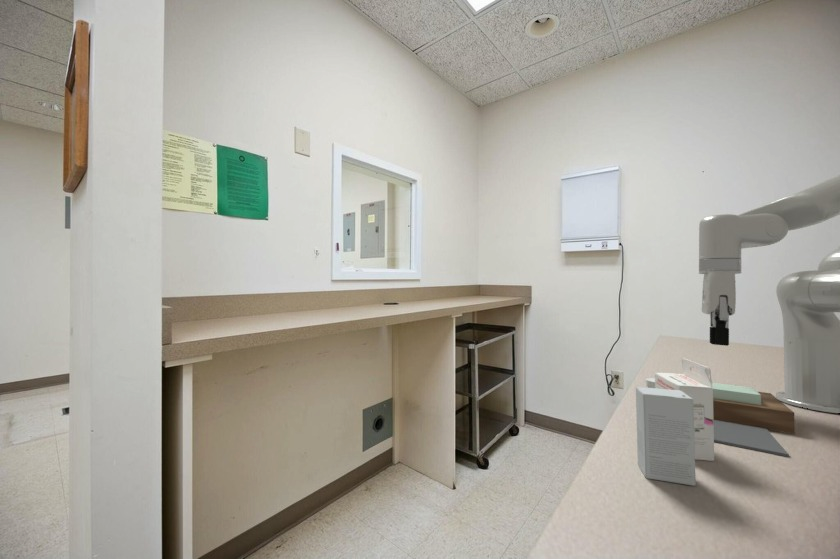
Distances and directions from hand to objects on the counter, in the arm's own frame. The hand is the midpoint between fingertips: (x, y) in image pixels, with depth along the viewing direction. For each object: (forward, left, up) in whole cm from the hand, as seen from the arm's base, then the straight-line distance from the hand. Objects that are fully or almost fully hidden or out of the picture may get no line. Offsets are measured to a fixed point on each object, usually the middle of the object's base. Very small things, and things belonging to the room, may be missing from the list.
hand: (719, 344), depth 78 cm
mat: (+21, -2, -14) cm, 25 cm away
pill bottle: (+22, -13, -14) cm, 29 cm away
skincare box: (+45, -13, -14) cm, 49 cm away
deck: (+7, 0, -14) cm, 16 cm away
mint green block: (+9, 0, -10) cm, 13 cm away
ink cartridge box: (+33, -10, -14) cm, 37 cm away
